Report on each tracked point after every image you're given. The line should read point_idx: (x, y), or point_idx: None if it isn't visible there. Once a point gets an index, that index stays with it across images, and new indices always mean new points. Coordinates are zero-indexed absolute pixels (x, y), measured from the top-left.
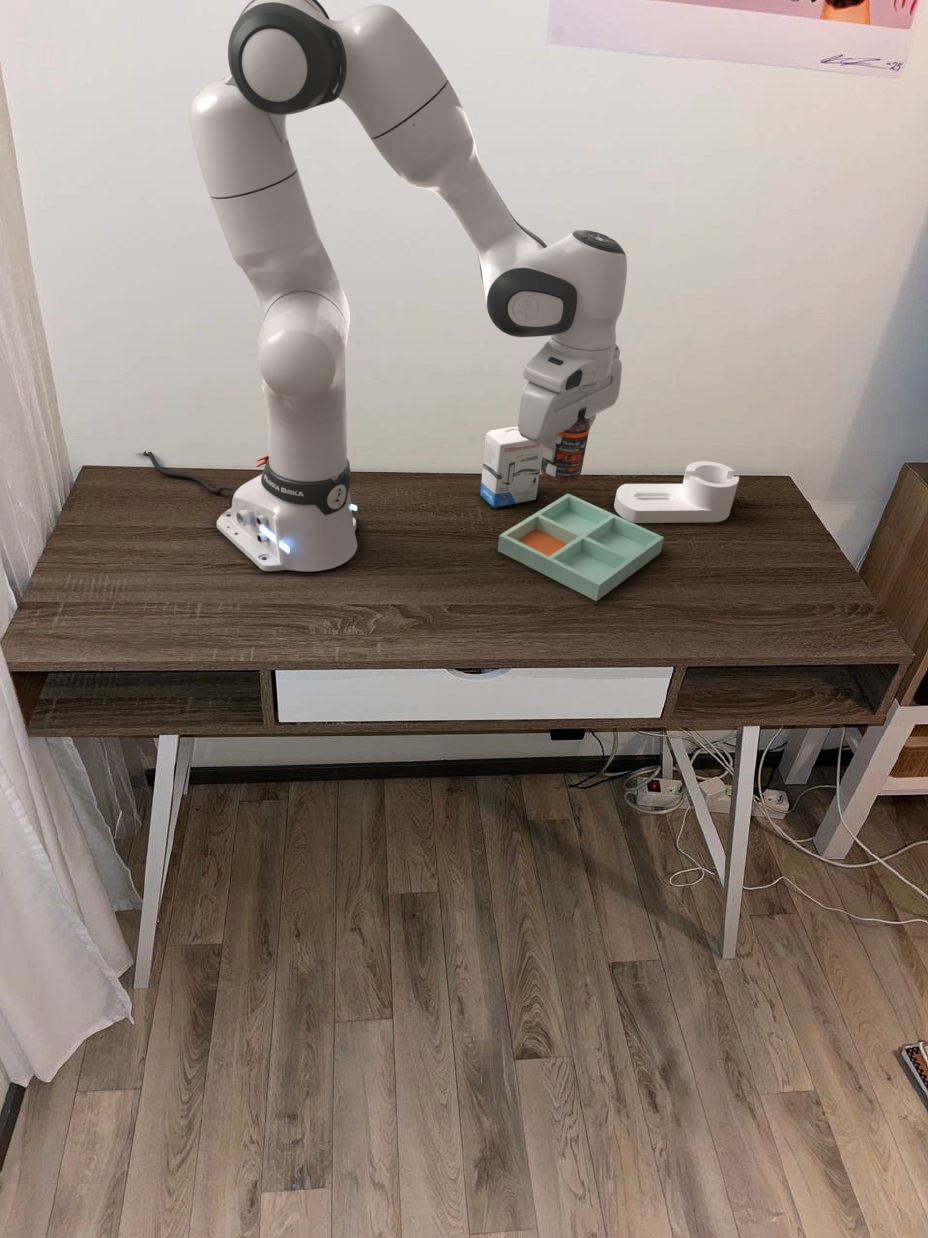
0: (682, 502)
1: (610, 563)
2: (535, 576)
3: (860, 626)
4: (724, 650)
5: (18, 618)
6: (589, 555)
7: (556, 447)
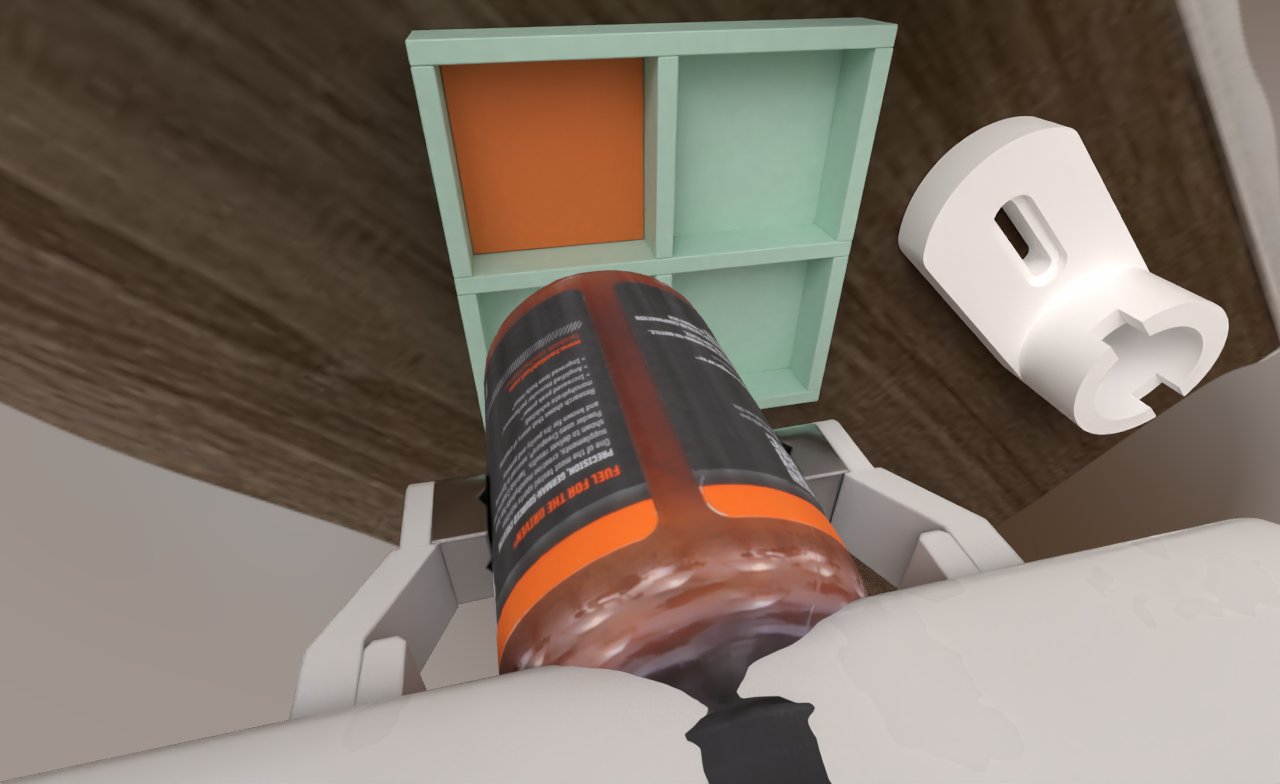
0: (1029, 313)
1: None
2: (424, 242)
3: None
4: None
5: None
6: None
7: (474, 594)
